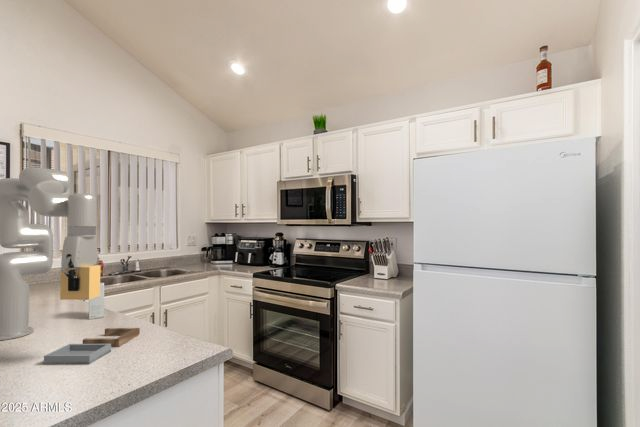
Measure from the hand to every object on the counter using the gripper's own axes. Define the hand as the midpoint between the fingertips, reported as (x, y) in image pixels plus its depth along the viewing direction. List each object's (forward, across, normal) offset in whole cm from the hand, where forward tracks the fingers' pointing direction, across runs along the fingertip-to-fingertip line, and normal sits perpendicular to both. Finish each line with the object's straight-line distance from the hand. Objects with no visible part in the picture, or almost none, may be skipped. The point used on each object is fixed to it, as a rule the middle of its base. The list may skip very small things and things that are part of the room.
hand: (80, 288), depth 103 cm
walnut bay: (+22, -14, 0) cm, 26 cm away
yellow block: (+3, 0, 0) cm, 3 cm away
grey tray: (+22, 0, 0) cm, 22 cm away
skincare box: (+22, -46, -26) cm, 57 cm away
